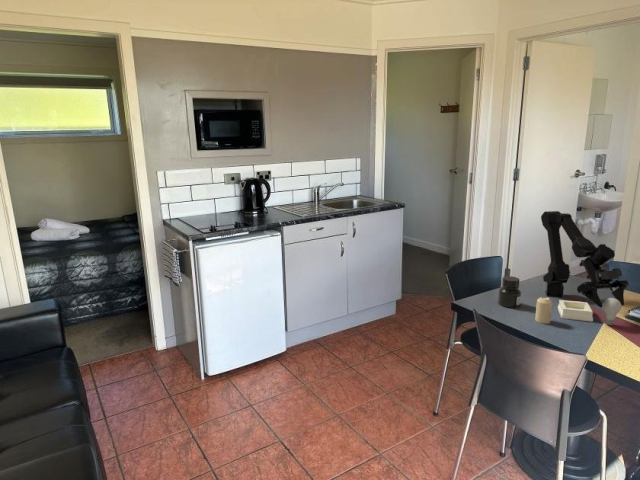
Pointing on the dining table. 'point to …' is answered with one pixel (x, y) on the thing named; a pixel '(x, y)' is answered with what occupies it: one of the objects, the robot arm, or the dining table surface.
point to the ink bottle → (509, 292)
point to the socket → (575, 310)
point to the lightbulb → (611, 309)
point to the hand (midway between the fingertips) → (612, 306)
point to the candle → (543, 310)
